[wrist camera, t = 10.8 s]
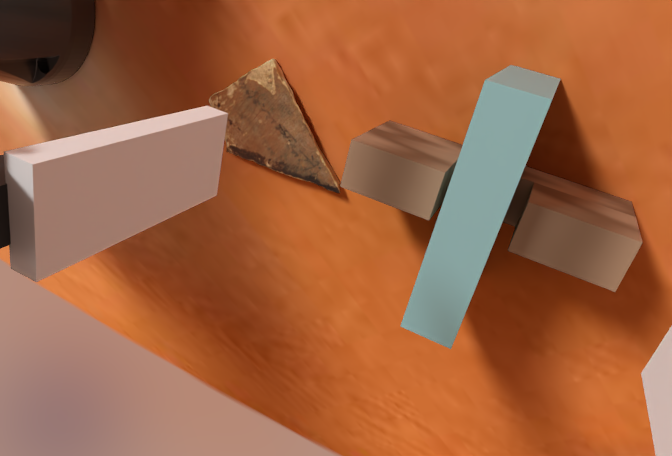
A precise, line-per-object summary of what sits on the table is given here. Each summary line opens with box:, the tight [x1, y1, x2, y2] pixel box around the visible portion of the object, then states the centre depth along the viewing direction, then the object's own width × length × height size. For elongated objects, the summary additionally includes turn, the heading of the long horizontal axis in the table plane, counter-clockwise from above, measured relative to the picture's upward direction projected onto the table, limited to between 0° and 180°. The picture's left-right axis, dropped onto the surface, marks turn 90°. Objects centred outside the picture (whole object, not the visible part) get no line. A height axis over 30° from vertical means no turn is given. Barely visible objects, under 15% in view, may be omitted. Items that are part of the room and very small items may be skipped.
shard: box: [209, 59, 341, 193], centre depth 41 cm, size 11×8×2 cm
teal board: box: [401, 65, 561, 349], centre depth 31 cm, size 14×3×10 cm, turn 166°
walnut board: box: [340, 121, 643, 292], centre depth 32 cm, size 16×3×7 cm, turn 76°
